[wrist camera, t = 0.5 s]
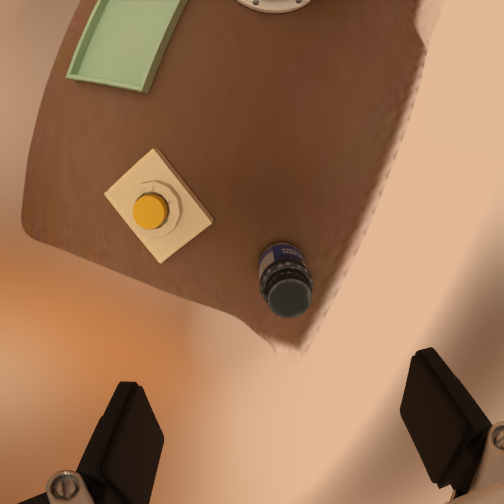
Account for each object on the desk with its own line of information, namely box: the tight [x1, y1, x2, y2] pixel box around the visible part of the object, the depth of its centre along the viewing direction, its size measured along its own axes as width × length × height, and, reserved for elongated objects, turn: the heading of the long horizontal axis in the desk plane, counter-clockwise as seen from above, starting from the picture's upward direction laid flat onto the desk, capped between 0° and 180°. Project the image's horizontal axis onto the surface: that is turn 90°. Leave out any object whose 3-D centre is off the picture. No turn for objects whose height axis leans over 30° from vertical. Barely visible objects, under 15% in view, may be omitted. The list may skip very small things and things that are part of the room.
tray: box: [66, 0, 188, 94], centre depth 31 cm, size 17×12×3 cm
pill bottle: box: [259, 242, 313, 318], centre depth 38 cm, size 6×6×11 cm
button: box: [133, 194, 168, 229], centre depth 36 cm, size 4×4×2 cm
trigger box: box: [104, 148, 214, 263], centre depth 39 cm, size 12×9×4 cm
